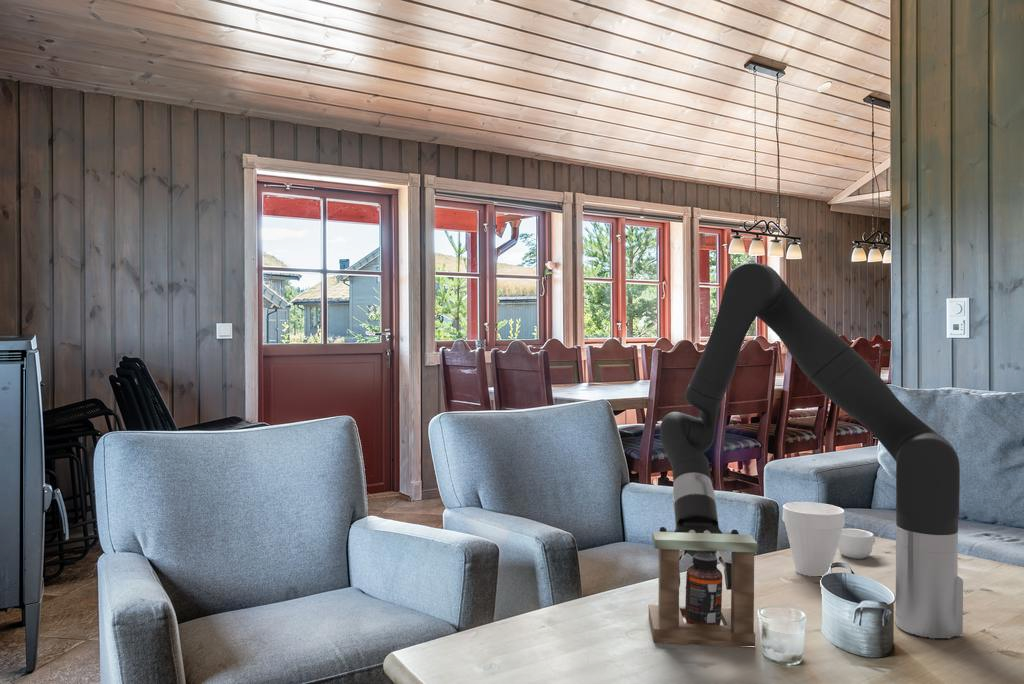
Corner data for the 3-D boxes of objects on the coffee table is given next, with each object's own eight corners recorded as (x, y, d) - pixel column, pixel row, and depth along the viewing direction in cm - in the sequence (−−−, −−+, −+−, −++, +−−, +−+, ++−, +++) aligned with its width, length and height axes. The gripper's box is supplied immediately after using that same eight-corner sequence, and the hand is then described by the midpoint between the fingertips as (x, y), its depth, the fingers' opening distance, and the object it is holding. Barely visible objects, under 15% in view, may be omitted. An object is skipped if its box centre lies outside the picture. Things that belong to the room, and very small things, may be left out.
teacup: (854, 562, 164) (855, 538, 164) (828, 553, 171) (828, 530, 171) (888, 558, 167) (888, 534, 167) (860, 549, 175) (861, 526, 175)
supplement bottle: (722, 631, 122) (724, 563, 122) (685, 627, 123) (687, 560, 123) (719, 618, 128) (722, 553, 127) (684, 614, 129) (686, 549, 129)
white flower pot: (825, 585, 148) (826, 517, 148) (770, 570, 158) (771, 506, 158) (855, 573, 156) (855, 509, 156) (801, 559, 165) (801, 499, 165)
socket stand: (741, 621, 129) (742, 524, 129) (756, 650, 117) (757, 543, 117) (648, 617, 130) (649, 521, 130) (654, 645, 119) (654, 539, 118)
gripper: (656, 491, 134) (662, 574, 122) (737, 493, 132) (750, 577, 121) (654, 513, 139) (659, 595, 128) (731, 515, 138) (743, 598, 126)
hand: (703, 586), depth 124 cm, fingers open, 8 cm apart
